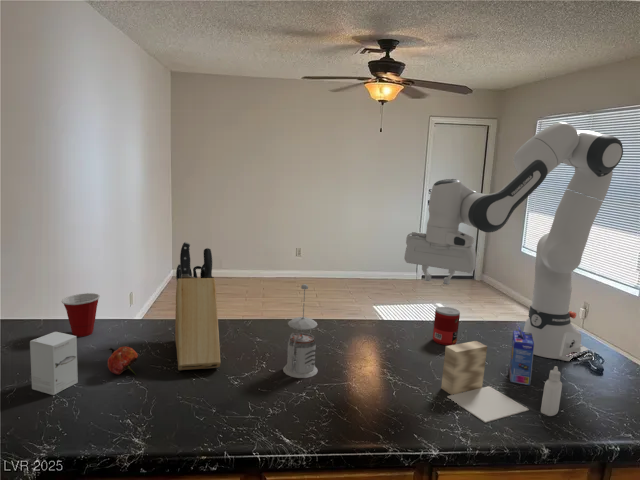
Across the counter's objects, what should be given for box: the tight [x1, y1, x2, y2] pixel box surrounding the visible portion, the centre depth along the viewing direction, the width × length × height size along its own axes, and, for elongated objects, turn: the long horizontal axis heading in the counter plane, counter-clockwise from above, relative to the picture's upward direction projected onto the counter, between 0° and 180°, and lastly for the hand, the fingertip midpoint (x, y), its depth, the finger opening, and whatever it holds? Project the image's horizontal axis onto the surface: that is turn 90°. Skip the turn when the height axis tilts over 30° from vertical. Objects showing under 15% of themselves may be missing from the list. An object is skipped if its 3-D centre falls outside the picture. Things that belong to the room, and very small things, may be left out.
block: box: [440, 340, 488, 395], centre depth 130 cm, size 11×4×12 cm, turn 118°
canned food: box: [432, 306, 461, 346], centre depth 163 cm, size 8×8×11 cm
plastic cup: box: [61, 292, 101, 338], centre depth 152 cm, size 11×11×12 cm
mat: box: [447, 385, 530, 424], centre depth 123 cm, size 15×13×1 cm
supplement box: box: [29, 331, 79, 396], centre depth 118 cm, size 7×7×13 cm
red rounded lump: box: [107, 346, 139, 376], centre depth 128 cm, size 7×7×10 cm
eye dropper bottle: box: [540, 365, 563, 417], centre depth 120 cm, size 4×6×12 cm
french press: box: [282, 283, 318, 379], centre depth 133 cm, size 10×12×25 cm
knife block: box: [174, 241, 221, 371], centre depth 143 cm, size 11×35×31 cm, turn 18°
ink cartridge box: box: [508, 326, 534, 386], centre depth 138 cm, size 10×6×14 cm, turn 161°
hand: (437, 282), depth 141 cm, fingers open, 4 cm apart
